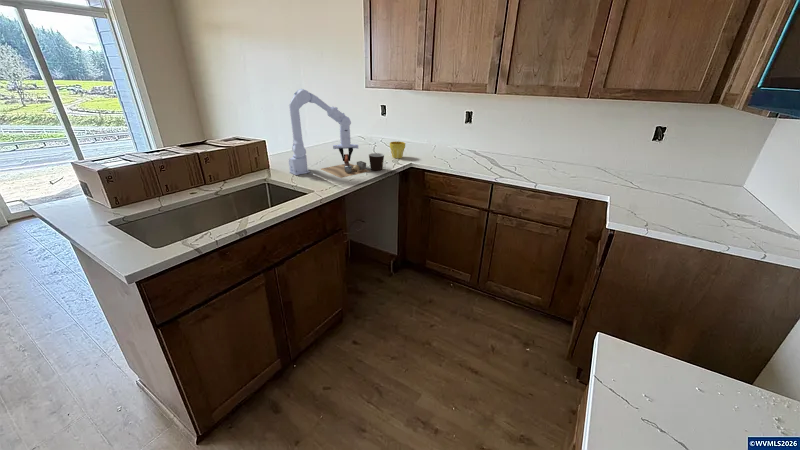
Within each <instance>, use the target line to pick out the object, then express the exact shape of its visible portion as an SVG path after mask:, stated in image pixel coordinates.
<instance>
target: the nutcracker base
mask: <svg viewBox="0 0 800 450" xmlns="http://www.w3.org/2000/svg"><path fill="white" fill-rule="evenodd" d="M349 164H350V165H351V166H352V173H346V171H345V168H344V166H345V165H344V163H342V164H337V165H332V166H327V167H322V168H320V170H322V171H324V172H326V173H329V174H331V175H333V176H336V177H339V178H341V179H342V178H343V179H344V178H346V177H351V176H355V175H360V174H365V173H369V172H371V170H369V169H367V163H366V162H365V161H362V160H359V161H356V165H358V166H359V168H360V169H359V170H357V171H354V170H353V166H354V165H355V164H353V163H349Z"/></svg>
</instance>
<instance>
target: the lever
mask: <svg viewBox="0 0 800 450" xmlns="http://www.w3.org/2000/svg"><path fill="white" fill-rule="evenodd" d="M343 162H344V163H343V164H344V165H345V166H344V168H345V171H346V173H352V166H351V165H350V164H351V163H350V164H349V162H350V161H349V153H344V161H343Z"/></svg>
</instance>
